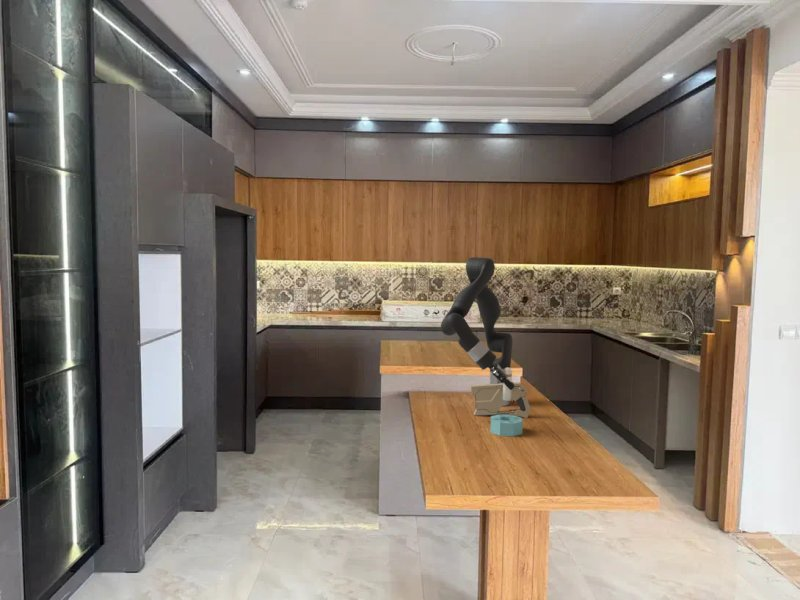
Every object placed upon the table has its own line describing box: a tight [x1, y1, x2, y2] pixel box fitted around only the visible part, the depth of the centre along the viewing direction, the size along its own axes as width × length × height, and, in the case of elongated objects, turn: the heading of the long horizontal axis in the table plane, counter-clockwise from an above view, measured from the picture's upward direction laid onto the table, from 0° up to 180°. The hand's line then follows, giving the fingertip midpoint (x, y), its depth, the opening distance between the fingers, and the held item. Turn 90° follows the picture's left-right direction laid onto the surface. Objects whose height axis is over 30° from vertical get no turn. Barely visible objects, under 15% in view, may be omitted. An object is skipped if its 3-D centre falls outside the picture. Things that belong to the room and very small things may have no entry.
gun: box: [470, 381, 532, 419], centre depth 243 cm, size 24×3×15 cm, turn 84°
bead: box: [490, 414, 524, 437], centre depth 221 cm, size 12×12×5 cm
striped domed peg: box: [503, 367, 513, 401], centre depth 220 cm, size 3×3×13 cm
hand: (512, 387), depth 220 cm, fingers closed on striped domed peg, 3 cm apart
